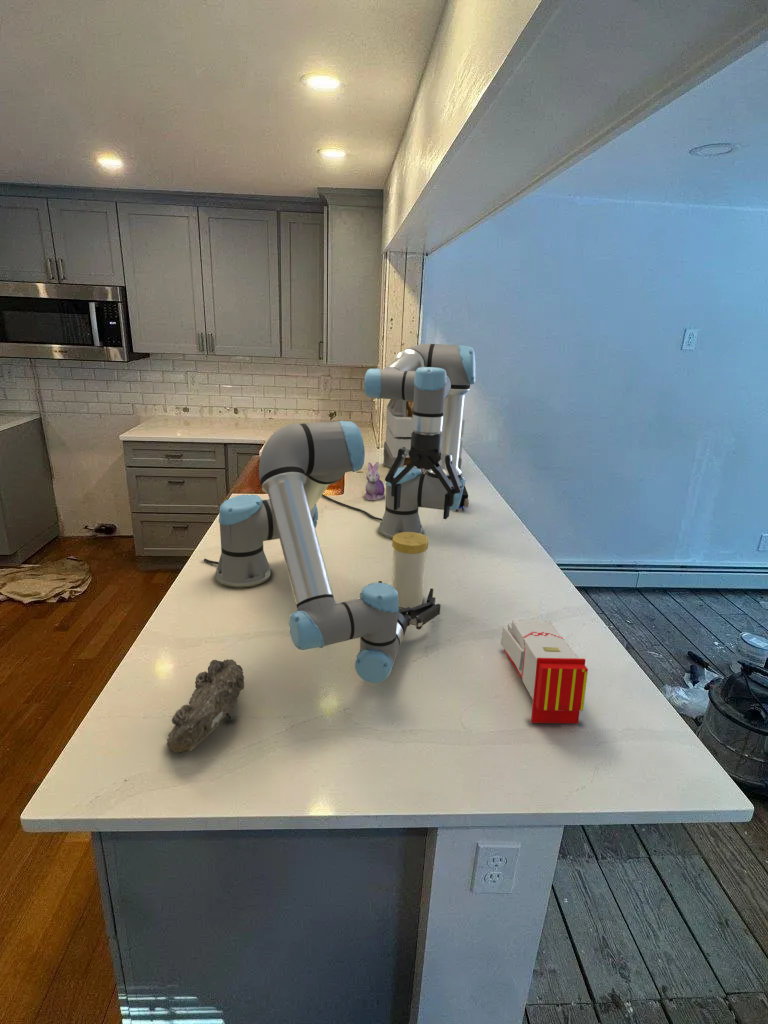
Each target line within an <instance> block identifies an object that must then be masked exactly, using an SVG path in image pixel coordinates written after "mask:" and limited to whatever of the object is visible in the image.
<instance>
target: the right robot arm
mask: <svg viewBox="0 0 768 1024" xmlns="http://www.w3.org/2000/svg"><path fill="white" fill-rule="evenodd" d="M475 354H476V353H475V350H474V348H473V347H471V346H468V345H463V344H462V345H461V344H443V343H419V344H416V345H413V346H409V347H406V348H404V349H403V350H401V351H400V352H398V354H397V355H396V356H395V359H394V361H392V362H391V363H389V364H388V365H387V366H385V367H384V368H378V367H377V368H368V369H367V370H366V371H365V375H364V381H363V389H364V394H365V395H366V397H368V398H372V399H373V398H374V399H377V400H379V399H383V400H384V399H386V400H391V399H396V400H408V401H414V404H413V417H412V430H413V432H412V433H411V449H410V450H408V449H406V448H405V447H402V448H400V449H399V450H398V455H397V458H396V460H395V462H394V463H393V465H392V467H391V469H390V468H389V470H388V472H387V474H386V476H385V478H384V481H385V504H384V505H385V507H384V508H385V509H384V513H383V515H382V518H380V517H378V516H377V517H376V516H375V515H372V514H370V513H369V512H367V511H365V510H364V509H361V508H358V507H355V506H352V505H349V504H346V503H343V502H341V501H338V500H335V499H334V498H331V497H328V496H327V495H325V494H324V493H323V494H322V496H321V497H323V498H325V499H327V500H328V501H331V502H333V503H335V504H338V505H341V506H344V507H345V508H348V509H352V510H355V511H358V512H360V513H364V514H365V515H367V516H368V517H370V518H372V519H373V520H377V521H380V522H379V526H378V533H379V534H380V535H381V536H382V537H385V538H387V539H389V540H393V536H394V535H395V534H397V533H401V532H415V533H420V534H423V531H424V526H423V525H422V524H421V518H420V515H419V508H422V509H423V508H424V509H433V510H442V511H443V514H442V520H447V519H448V518H449V517H450V511H451V512H452V511H453V512H454V511H456V510H457V511H458V509H459V508H458V507H459V505H460V501H461V497H462V493H463V489H464V486H466V485H465V484H466V478H465V476H462V475H463V474H462V473H463V472H462V469H461V470H460V469H459V468H458V459H459V448H460V439H462V438H461V427H462V419H463V414H464V404H465V396H466V394H467V393H468V392H469V391H470V390H471V386H472V385H475V383H476V375H477V374H476V372H477V371H476V355H475ZM408 454H409V457H410V458H411V460H412V461H411V462H410V463H409V464H408V465H405V466H404V467H401V468H399V466H400V464H401V463H402V461H403V459H404V457H406V456H407V455H408ZM422 469H423V470H426V473H422Z"/></svg>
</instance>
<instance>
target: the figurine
mask: <svg viewBox="0 0 768 1024" xmlns="http://www.w3.org/2000/svg"><path fill="white" fill-rule="evenodd" d="M379 465H380V463H379V461H376V462H375V463H374V465H372V463H371V462H368V463H367V468H368V469H367V473H366V475H365V478H366V480H367V482H366V484H365V494H364V498H365V499H366V500H367V501H377V500H382V499H384V497H385V493H386V487H385V484H384V482H383V481H382V480H381V479H380V478H381V475H380V473H379V471H378V469H379Z"/></svg>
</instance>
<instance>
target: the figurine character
mask: <svg viewBox="0 0 768 1024" xmlns="http://www.w3.org/2000/svg"><path fill="white" fill-rule="evenodd" d="M469 505H470V500H469V492H468V490H467V488H466V485H464V489H463V493H462V497H461V501H460V505H459V507H458V509H461V511H462V512H464V511H465V508H469ZM458 509H457V510H455V511H456V512H457V511H458Z"/></svg>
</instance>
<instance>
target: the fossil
mask: <svg viewBox="0 0 768 1024" xmlns="http://www.w3.org/2000/svg"><path fill="white" fill-rule="evenodd" d="M243 670H244V669H243V667H242V665H240V664H237V662H236V661H235V660H234V659H232V658H231V659H227V658H226V659H224V660H223V661H222V660H217V659H212V660H211V661H210V663H209V665H208V666H207V671H201V672H199V673H198V674H197V675H196V676H195V680H194V684H195V685H194V687H195V689H194V690H193V693H192V694H191V697H190V698H189V700H188V704H184V705H182V706H181V707H180V709H177V710H176V711H175V713H174V715H173V716H172V718H171V723H172V724H173V727H172V730H171V731H170V732H168V734H167V738H166V741H167V742H166V745H167V749H168V750H169V751H173V752H174V753H176V754H178V753H182V752H188V751H189V752H192V751H193V750H195V748H196V747H197V746H199V744H200V743H201V742H203V741H204V740H205V739H206V738H207V737H208V736H209V735H210V734H211V733H212V732H214V730H215V729H217V727H218V726H219V724H220V722H221V721H222V720H223V719H224V718H225V716H226V717H227V719H229V720H233V717H232V715H230V714H229V710H230V709H231V708H234V706H235V704H236V703H237V702H238V699H239V697H240V695H241V693H242V691H243V690H245V689H244V688H245V675H244V671H243Z"/></svg>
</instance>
